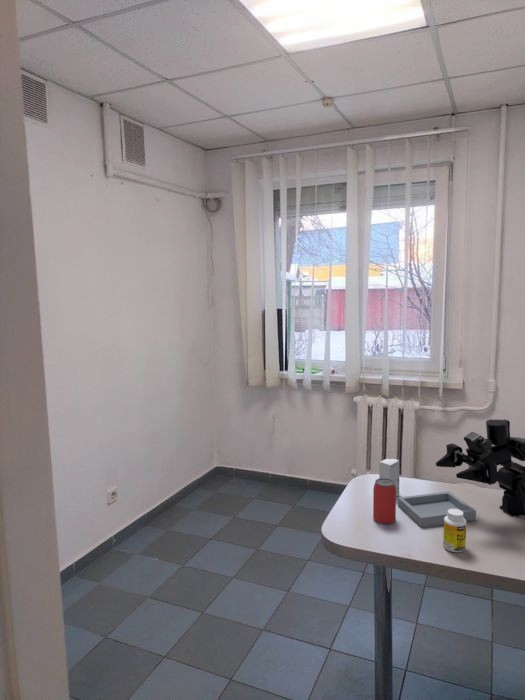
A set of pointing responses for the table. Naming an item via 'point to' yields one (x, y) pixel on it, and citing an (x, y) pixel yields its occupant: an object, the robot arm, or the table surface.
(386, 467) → the skincare box
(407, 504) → the sorting tray
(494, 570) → the table surface
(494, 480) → the robot arm
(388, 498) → the beer can
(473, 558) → the table surface
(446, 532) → the supplement bottle
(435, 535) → the table surface
